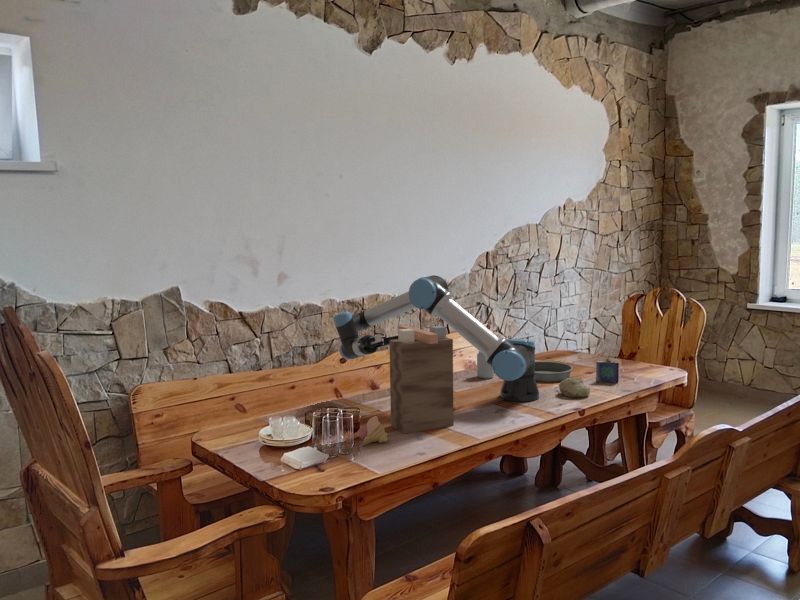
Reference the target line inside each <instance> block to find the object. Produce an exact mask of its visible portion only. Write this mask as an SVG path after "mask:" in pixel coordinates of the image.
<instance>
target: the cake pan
mask: <svg viewBox="0 0 800 600" xmlns="http://www.w3.org/2000/svg"><path fill="white" fill-rule="evenodd" d="M573 369H574V367H573V366H572V365H570V364H568V363H564V362H557V361H548V360H547V361H545V360H543V361H542V360H541V361H540V360H539V361H537V360H536V361H535V381H536V382H546V383H547V382H549V383H550V382H553V383H554V382H562V381H564V380H565V379H566V378H570V375H571V371H573Z"/></svg>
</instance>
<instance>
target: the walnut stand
mask: <svg viewBox="0 0 800 600" xmlns="http://www.w3.org/2000/svg"><path fill="white" fill-rule="evenodd" d="M453 343H454V339H453V338H451V337H450V338H449V337H448V336H446V339H439V340H438V343H435V344H428V343H425V342H422V341H419V340H416V339H415V342H410V343H402V342H399V341H398V339H394V340H389V345H388V346H389V383H390V385H389V386H390V389H389V390H390V391H389V393H390V426H391V427H392V428H394V429H396V430H397V431H399V432H400V433H402V434H404V435H406V434H411V433H417V432H423V431H428V430H434V429H440V428H441V429H442V428H445V427H452V426H454V421H455V420H454V344H453Z"/></svg>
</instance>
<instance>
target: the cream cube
mask: <svg viewBox="0 0 800 600" xmlns="http://www.w3.org/2000/svg"><path fill="white" fill-rule="evenodd" d="M397 336H398V341H399V342H402V343H410V342H415V338H414V330H412V329H399V330H398V329H397Z"/></svg>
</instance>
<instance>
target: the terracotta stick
mask: <svg viewBox="0 0 800 600" xmlns="http://www.w3.org/2000/svg"><path fill="white" fill-rule="evenodd" d="M399 329H412V330H414V338H415V339H416V340H419V341H422V342H425V343H428V344H435V343H438V334H435V333H432V332H430V331H428V330H424V329H420V328H418V327H414V326H410V325H407V324H400V325H399V324H398V325H397V331H398V330H399Z"/></svg>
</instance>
